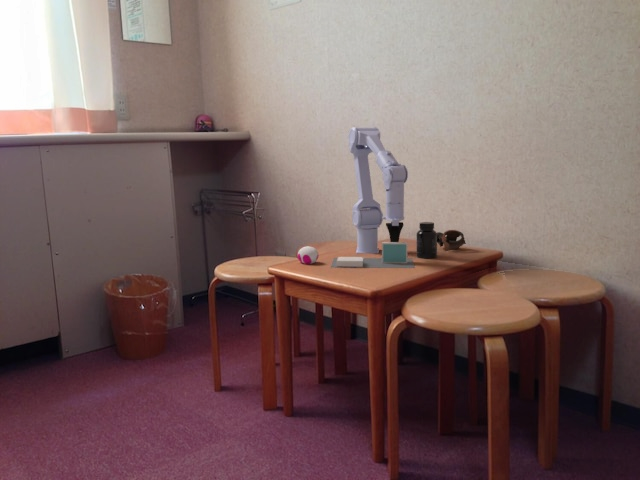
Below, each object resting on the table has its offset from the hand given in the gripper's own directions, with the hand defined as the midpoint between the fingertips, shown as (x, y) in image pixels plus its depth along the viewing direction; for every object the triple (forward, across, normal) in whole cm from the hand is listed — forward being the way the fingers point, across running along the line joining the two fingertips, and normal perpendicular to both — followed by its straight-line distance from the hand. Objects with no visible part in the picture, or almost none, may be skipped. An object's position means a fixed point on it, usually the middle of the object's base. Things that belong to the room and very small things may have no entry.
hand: (394, 245), depth 184 cm
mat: (+6, +3, -7) cm, 10 cm away
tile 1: (+4, +4, -14) cm, 15 cm away
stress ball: (+6, +4, -28) cm, 29 cm away
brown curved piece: (+6, -24, +20) cm, 32 cm away
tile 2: (+5, +3, 0) cm, 6 cm away
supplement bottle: (+6, -7, +11) cm, 14 cm away
